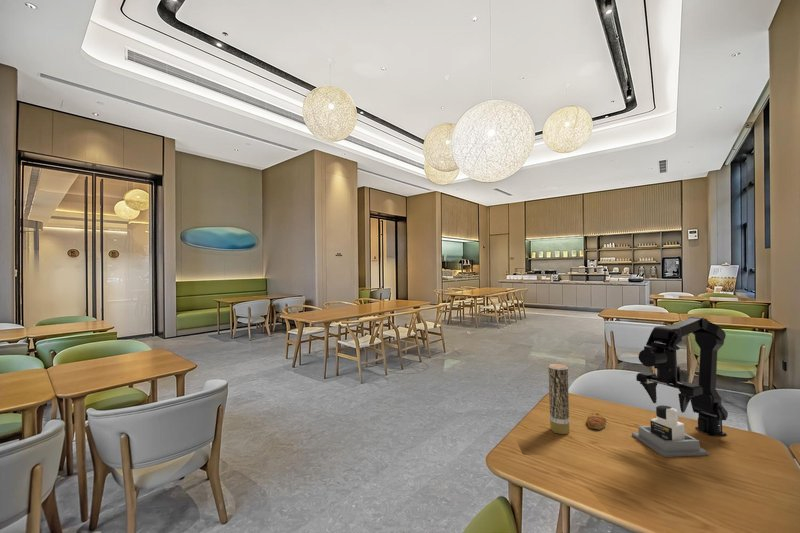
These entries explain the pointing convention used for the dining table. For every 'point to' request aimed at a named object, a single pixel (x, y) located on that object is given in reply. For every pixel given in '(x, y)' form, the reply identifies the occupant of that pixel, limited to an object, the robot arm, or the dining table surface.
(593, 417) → the pastry
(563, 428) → the bark-patterned cylinder
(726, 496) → the dining table surface
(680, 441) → the bottle caddy
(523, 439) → the dining table surface
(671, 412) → the medicine bottle
